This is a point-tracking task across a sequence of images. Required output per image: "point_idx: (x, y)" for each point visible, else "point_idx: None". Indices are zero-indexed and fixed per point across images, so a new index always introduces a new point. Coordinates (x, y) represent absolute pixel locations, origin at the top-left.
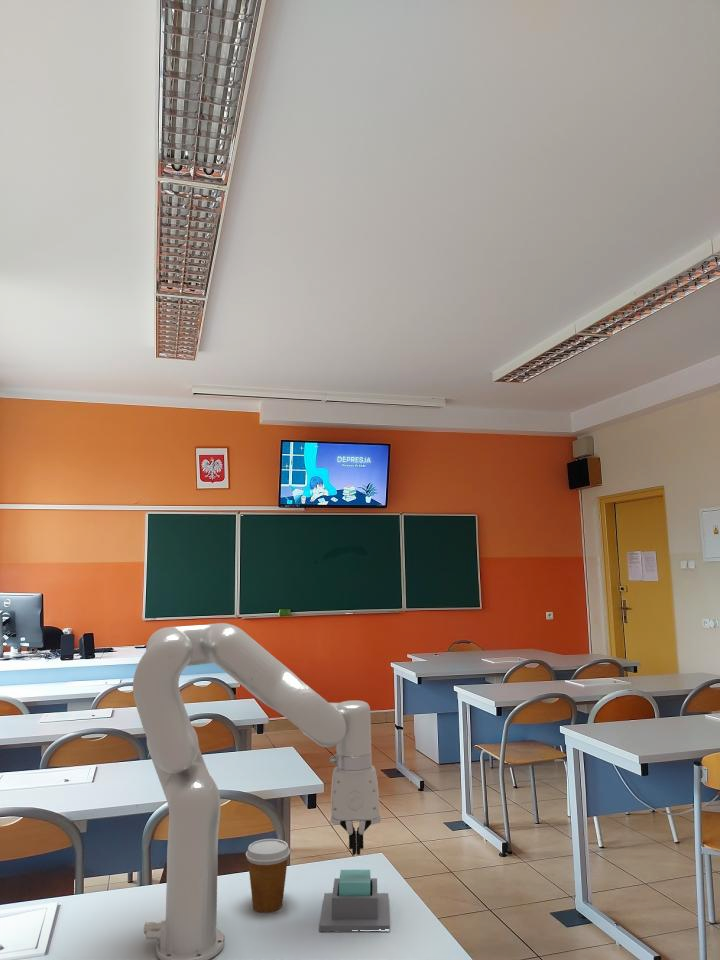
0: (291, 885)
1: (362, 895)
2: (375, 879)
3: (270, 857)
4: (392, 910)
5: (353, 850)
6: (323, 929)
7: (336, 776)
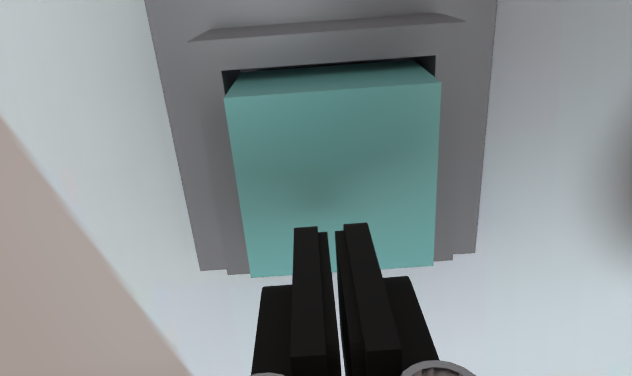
0: (597, 330)
1: (281, 77)
2: (234, 262)
3: None
4: (172, 171)
5: (360, 238)
6: None
7: None
